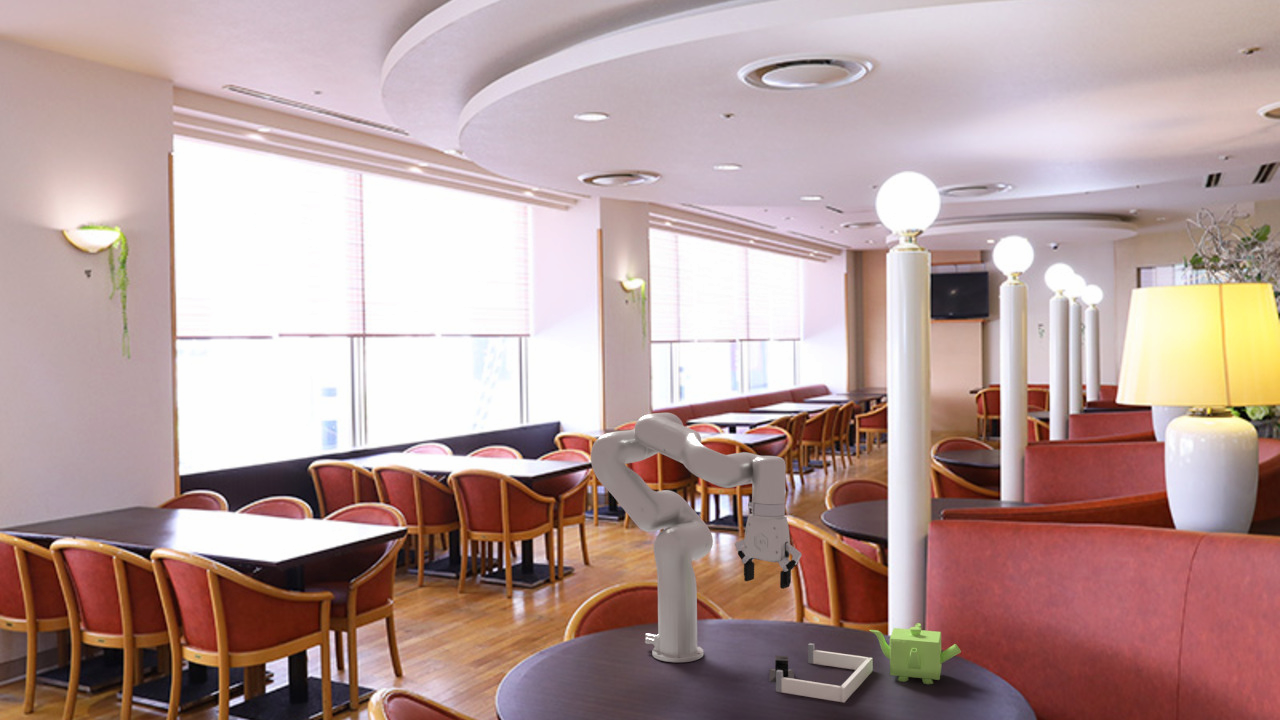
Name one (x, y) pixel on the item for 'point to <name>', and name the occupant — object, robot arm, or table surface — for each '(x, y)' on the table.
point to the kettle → (915, 653)
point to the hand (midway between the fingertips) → (766, 583)
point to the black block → (781, 668)
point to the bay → (826, 690)
